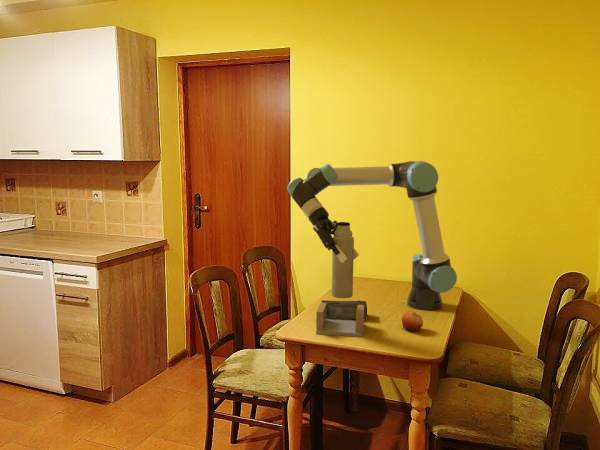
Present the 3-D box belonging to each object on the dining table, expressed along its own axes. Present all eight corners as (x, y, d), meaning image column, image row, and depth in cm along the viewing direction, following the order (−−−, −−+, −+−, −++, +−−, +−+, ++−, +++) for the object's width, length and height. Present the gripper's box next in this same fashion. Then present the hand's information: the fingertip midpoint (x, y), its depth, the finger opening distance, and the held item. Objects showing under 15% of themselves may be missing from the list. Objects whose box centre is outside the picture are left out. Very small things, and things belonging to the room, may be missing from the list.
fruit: (403, 320, 203) (413, 305, 200) (418, 334, 200) (429, 319, 196) (393, 325, 197) (403, 310, 193) (408, 340, 193) (419, 324, 190)
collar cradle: (363, 324, 203) (364, 304, 201) (361, 336, 189) (362, 315, 188) (320, 321, 205) (320, 301, 204) (315, 333, 192) (316, 312, 191)
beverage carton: (320, 313, 217) (320, 298, 216) (366, 314, 216) (366, 299, 215) (319, 319, 209) (320, 303, 208) (367, 320, 208) (367, 305, 207)
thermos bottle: (353, 293, 198) (355, 221, 194) (351, 299, 190) (353, 224, 187) (333, 292, 200) (334, 220, 196) (330, 297, 192) (331, 223, 188)
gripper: (324, 216, 209) (358, 260, 201) (293, 221, 192) (329, 269, 185) (335, 204, 205) (370, 248, 197) (305, 208, 188) (342, 257, 181)
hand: (350, 258), depth 191 cm, fingers closed on thermos bottle, 8 cm apart
